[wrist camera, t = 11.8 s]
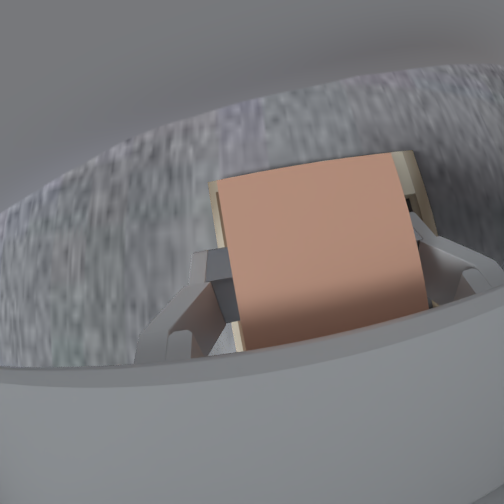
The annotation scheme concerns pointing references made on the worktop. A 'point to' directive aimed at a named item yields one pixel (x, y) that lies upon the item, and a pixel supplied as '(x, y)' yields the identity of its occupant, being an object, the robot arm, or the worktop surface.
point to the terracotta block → (320, 249)
